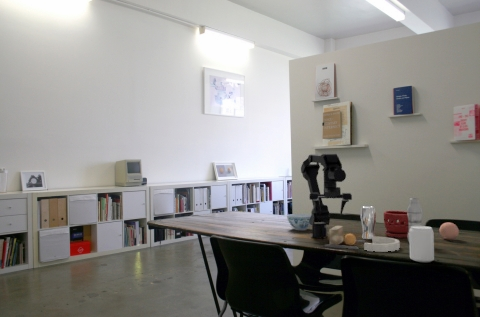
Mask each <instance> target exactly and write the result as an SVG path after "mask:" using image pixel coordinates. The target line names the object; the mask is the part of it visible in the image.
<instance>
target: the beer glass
mask: <svg viewBox="0 0 480 317" xmlns="http://www.w3.org/2000/svg"><path fill="white" fill-rule="evenodd" d="M376 217H377V215H376V207H375V206H371V205H370V206H360V222H361V227H362V234H361V239H362V240H372V236H375V237H376V235H375V227H376V221H377V218H376Z"/></svg>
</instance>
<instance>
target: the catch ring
mask: <svg viewBox="0 0 480 317" xmlns="http://www.w3.org/2000/svg"><path fill="white" fill-rule="evenodd" d="M371 240H372V242H371V243H369V242H366V243H363V248H364V249H363V250H367V252H373V251H375V252H376V253H383V252H384V253H386V252H388V251H391V252H395V250H397V251H399V250H400V249H401V247H400V246H401V245H400V244H401V242H400V240H399V239H398V238H394V237H389V236H376V235H375V236H372V239H371ZM399 248H400V249H399ZM388 253H389V252H388Z"/></svg>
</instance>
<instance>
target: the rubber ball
mask: <svg viewBox="0 0 480 317" xmlns="http://www.w3.org/2000/svg"><path fill="white" fill-rule="evenodd" d="M343 239H344V241H345V244H346V246H353V245H354V244H356V243H355V242H356V240H357V238H356V235H354V234H353V233H347V234H345V236H343Z"/></svg>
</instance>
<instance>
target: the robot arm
mask: <svg viewBox="0 0 480 317" xmlns="http://www.w3.org/2000/svg"><path fill="white" fill-rule="evenodd" d="M315 163H316V164H315ZM342 165H343V164H342V162H341V160H340V158H339V156H338V154H337V153H323V154H318V153H317V154H315V153H314V154H312V153H311V154H309V155H308V156H307V158H306V159H305V160H304V161H303V162H302V164H301V165H300V166H301V167H300V173H301V174H302V177H303V178H304V179H305V180H306V181H307V186H308V189H309V190H308V191H309V200H311V203H312V206H313V207H312V210H311V213H310V215H311V217H310V219H309V224H310V226H311V231H312V232H311V233H312V235H311V236H310V237H311V239H312V238H313V239H326V238H329V236H328V234H329V233H328V232H329V229H328V227H327V226H329V225H330V222H331V214H330V210H329V207H328V205H327V204H324V203H323V199H341V201H340V202H341V203H340V210H339V211H340V214H339V215H340V216H342V214H343V211H344V208H345V205H346V204H347V203H348V202H349V201H352V200H353V194H352V193H351V192H342V194H341V187H340V186H339V187H337V186H338V185H337V183H342V182H344V181H345V180H346V178H347V173H346V172H345V170H344V169H343V166H342ZM321 166H322V167H323V168H322V172H323V194H321V191H320V187H319V186H320V185H319V183H318V178H317V177H318V175H319V171H320V168H321Z"/></svg>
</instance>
